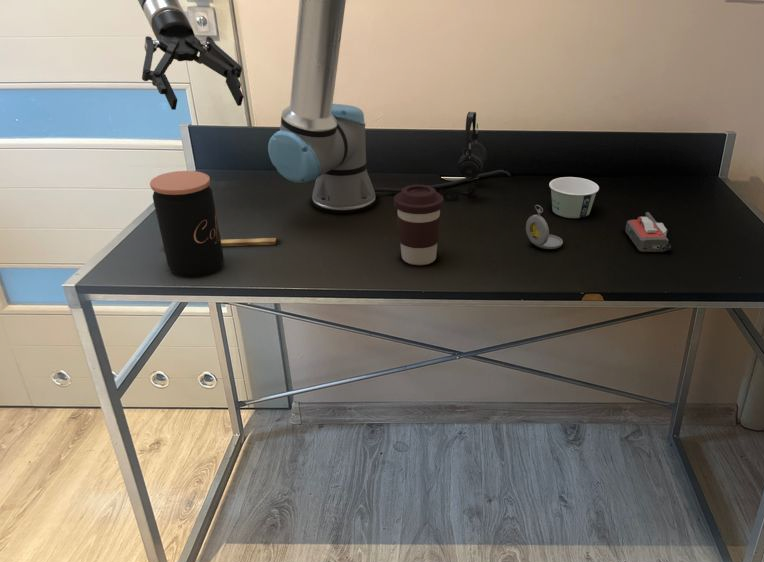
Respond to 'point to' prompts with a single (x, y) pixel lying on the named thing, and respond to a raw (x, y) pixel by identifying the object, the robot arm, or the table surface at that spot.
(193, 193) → the coffee jar
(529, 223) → the pocket watch
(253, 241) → the tan flat long part
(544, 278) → the table surface
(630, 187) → the table surface
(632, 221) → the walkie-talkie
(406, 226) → the coffee cup
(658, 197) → the table surface
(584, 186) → the food container
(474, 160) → the headphones
